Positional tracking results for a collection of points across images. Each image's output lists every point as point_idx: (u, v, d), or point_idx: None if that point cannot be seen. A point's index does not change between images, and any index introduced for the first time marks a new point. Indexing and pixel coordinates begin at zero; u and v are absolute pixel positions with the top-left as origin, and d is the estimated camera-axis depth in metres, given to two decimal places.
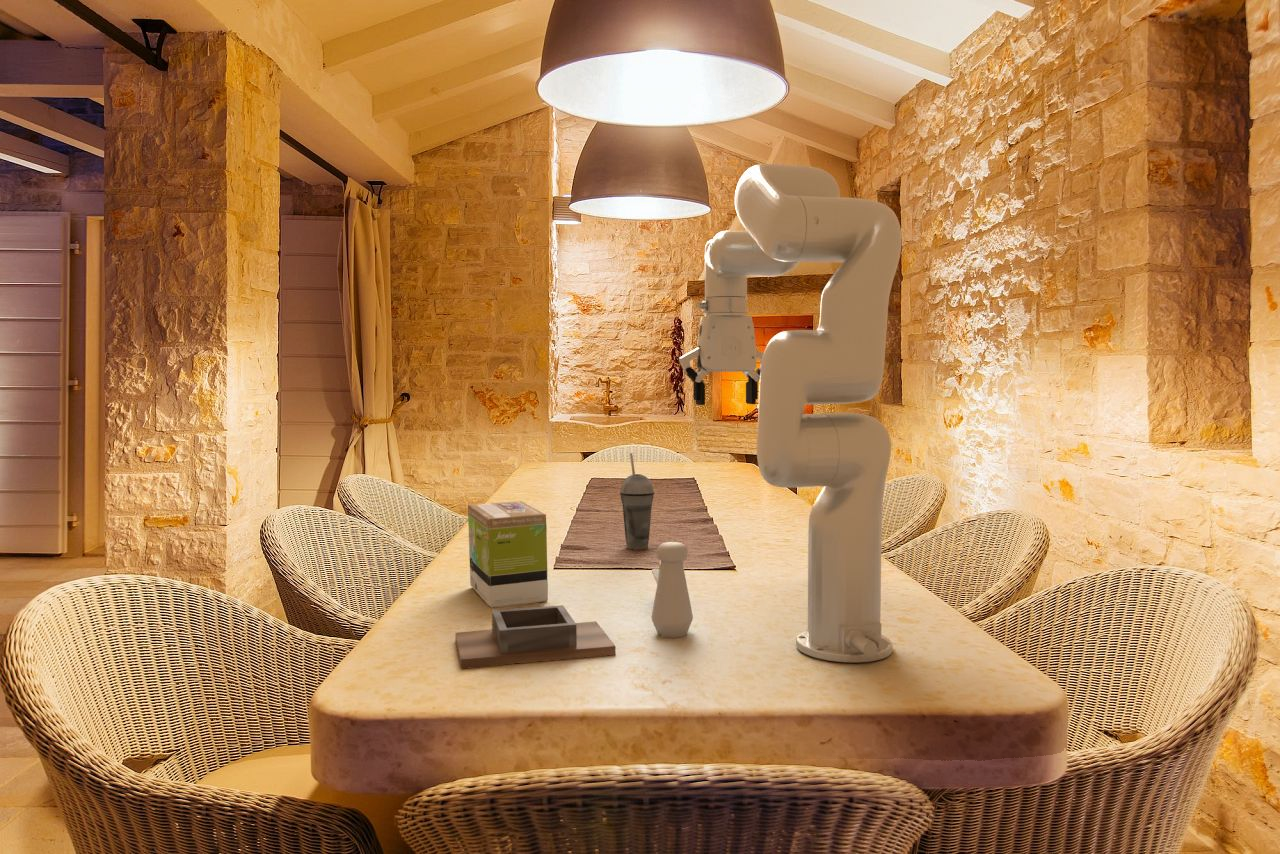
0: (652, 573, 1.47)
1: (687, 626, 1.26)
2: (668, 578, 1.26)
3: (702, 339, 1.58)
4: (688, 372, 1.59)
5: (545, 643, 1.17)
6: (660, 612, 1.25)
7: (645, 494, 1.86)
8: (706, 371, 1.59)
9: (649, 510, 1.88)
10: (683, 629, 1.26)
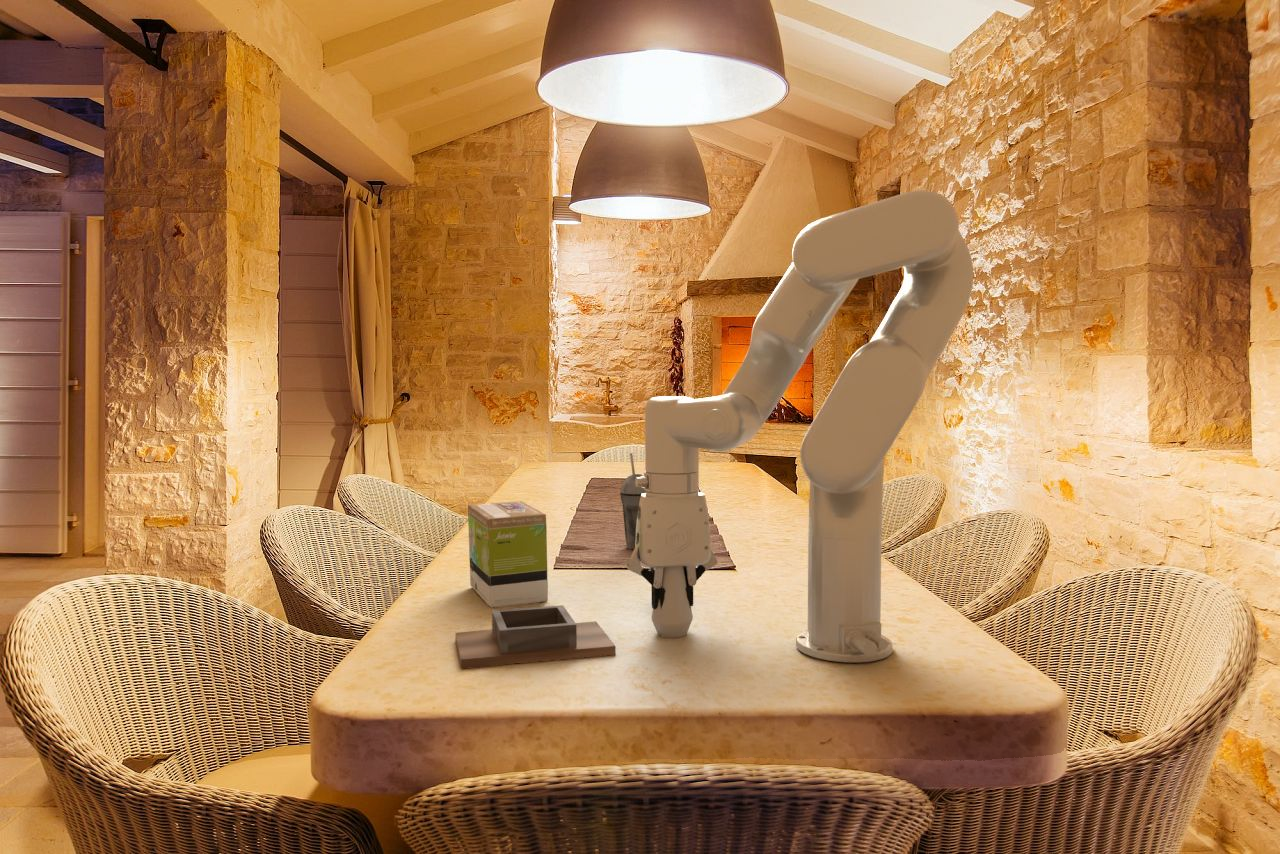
0: None
1: (687, 626, 1.26)
2: (668, 578, 1.26)
3: (641, 526, 1.24)
4: (644, 575, 1.25)
5: (545, 643, 1.17)
6: (660, 612, 1.25)
7: None
8: (660, 570, 1.25)
9: None
10: (683, 629, 1.26)
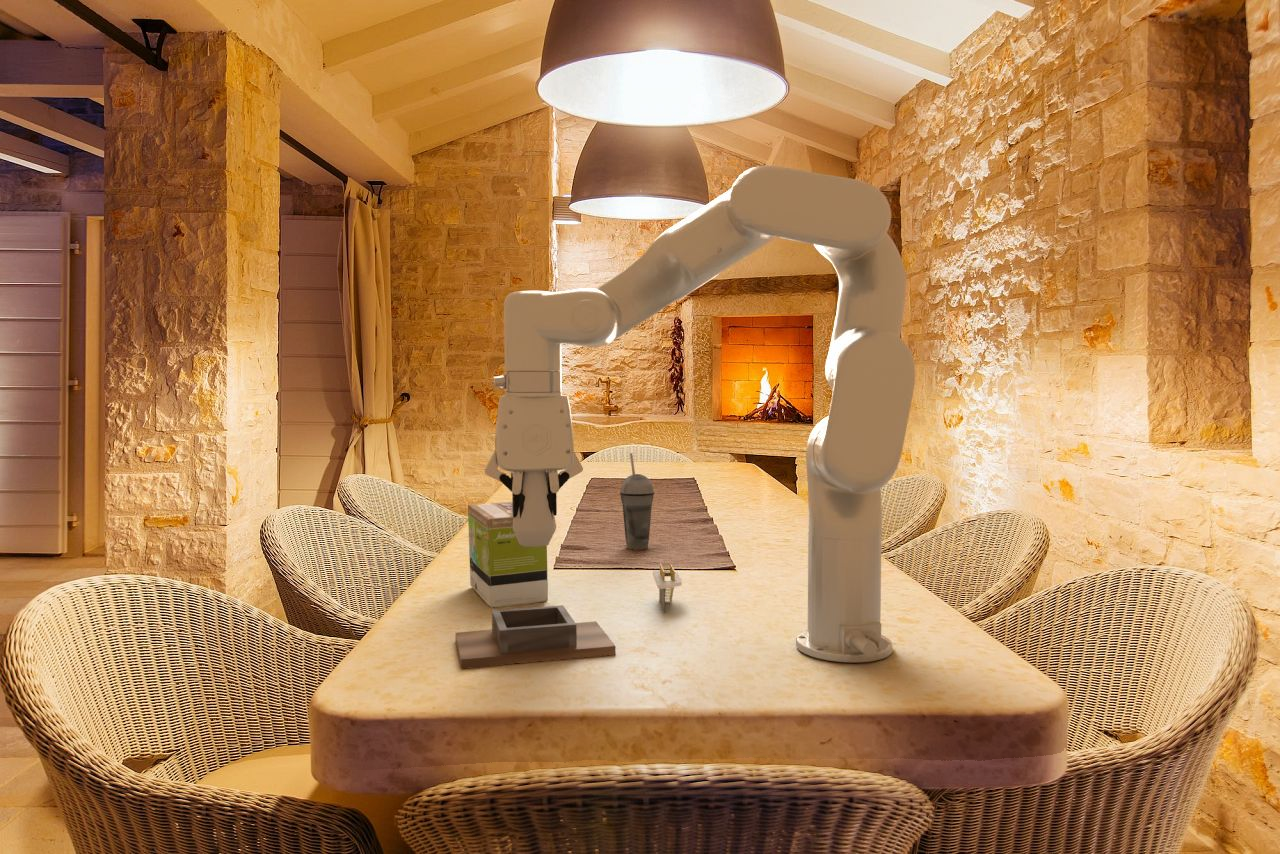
0: (653, 575, 1.46)
1: (548, 535, 1.19)
2: (528, 483, 1.19)
3: (497, 428, 1.17)
4: (502, 481, 1.18)
5: (545, 643, 1.17)
6: (519, 519, 1.19)
7: (645, 494, 1.86)
8: (519, 475, 1.18)
9: (649, 510, 1.88)
10: (544, 537, 1.19)
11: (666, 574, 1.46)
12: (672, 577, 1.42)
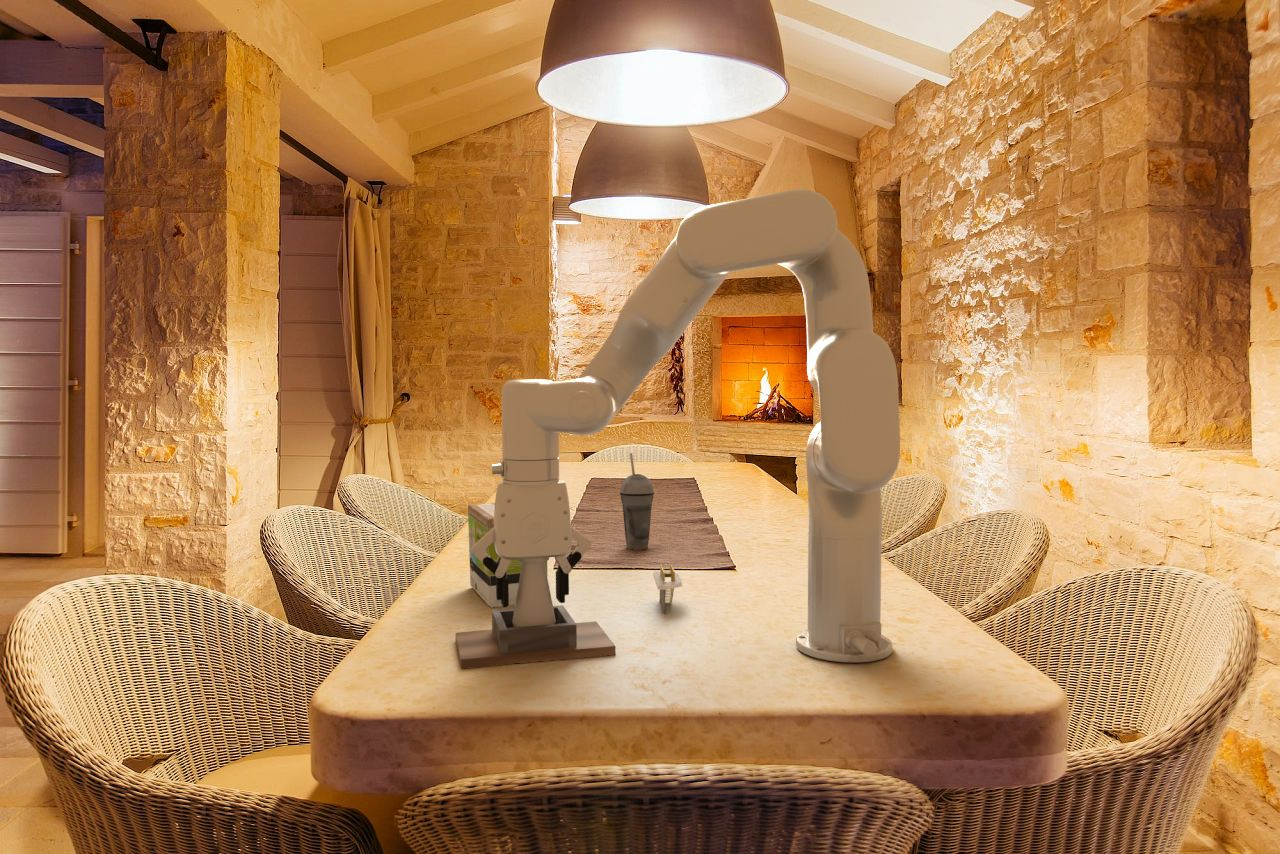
0: (653, 576, 1.46)
1: None
2: (527, 580, 1.20)
3: (495, 516, 1.18)
4: (485, 564, 1.18)
5: (545, 643, 1.17)
6: (519, 616, 1.19)
7: (645, 494, 1.86)
8: (507, 560, 1.19)
9: (649, 510, 1.88)
10: None
11: (666, 575, 1.45)
12: (672, 578, 1.42)
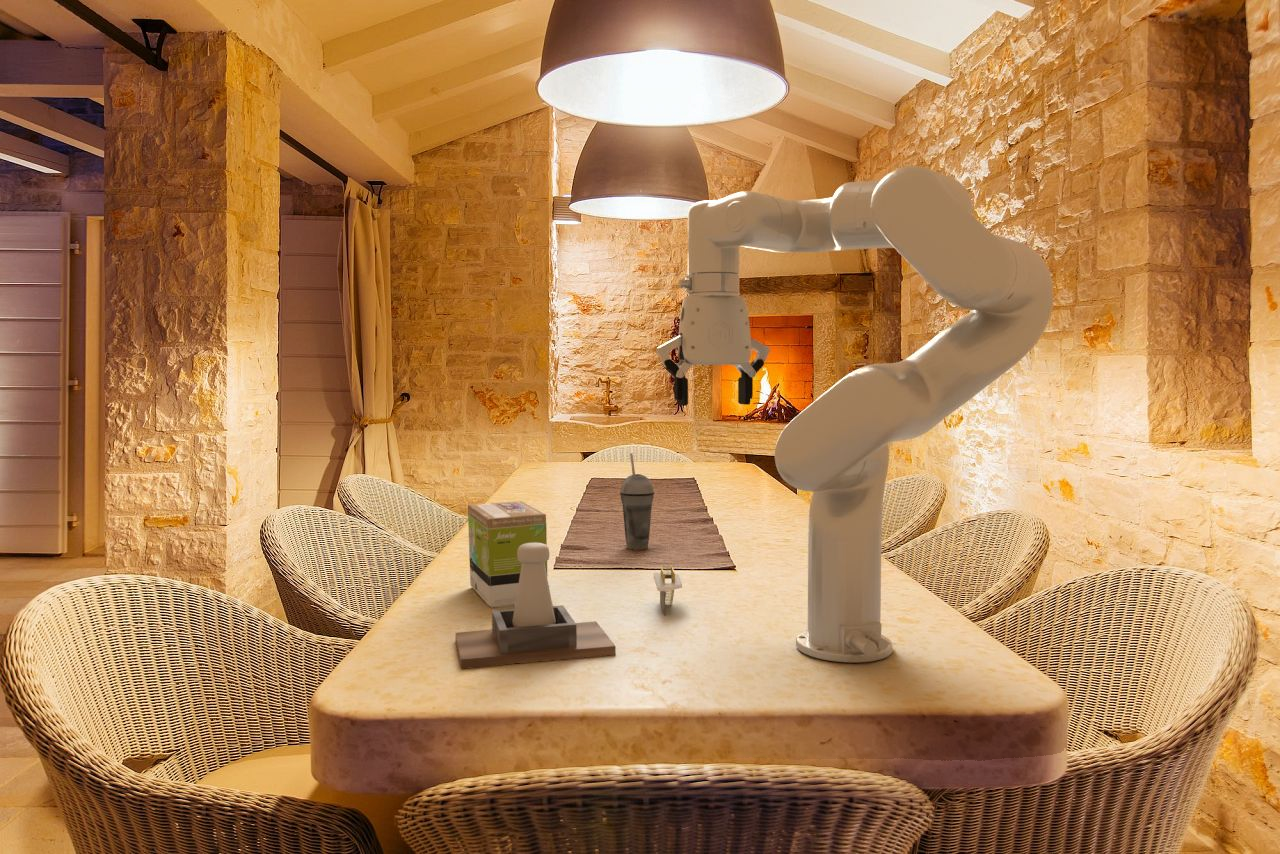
0: None
1: None
2: (527, 580, 1.20)
3: (684, 325, 1.29)
4: (667, 365, 1.30)
5: (545, 643, 1.17)
6: (519, 616, 1.19)
7: (645, 494, 1.86)
8: (689, 364, 1.30)
9: (649, 510, 1.88)
10: None
11: (667, 576, 1.44)
12: None
